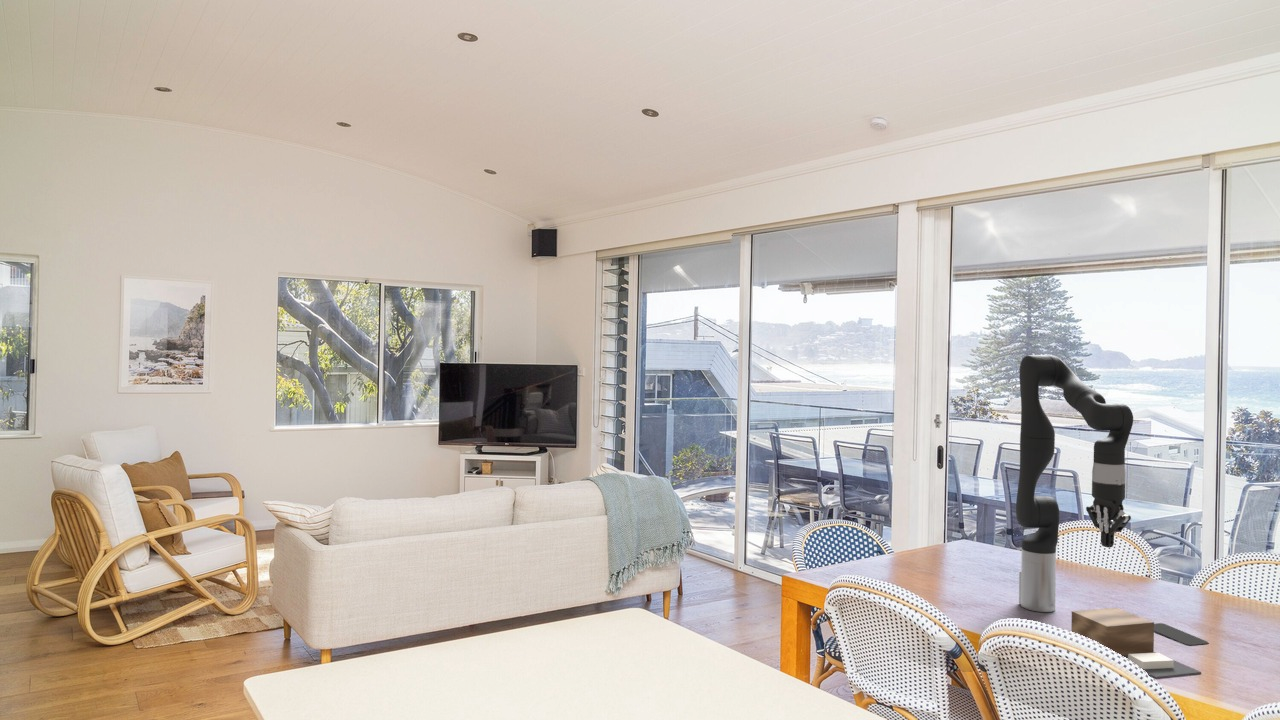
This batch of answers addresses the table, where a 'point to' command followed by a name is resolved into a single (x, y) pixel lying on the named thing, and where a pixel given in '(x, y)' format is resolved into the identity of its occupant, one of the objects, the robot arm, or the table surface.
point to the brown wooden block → (1115, 629)
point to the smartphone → (1178, 635)
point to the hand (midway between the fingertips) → (1107, 546)
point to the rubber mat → (1171, 670)
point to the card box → (1151, 661)
